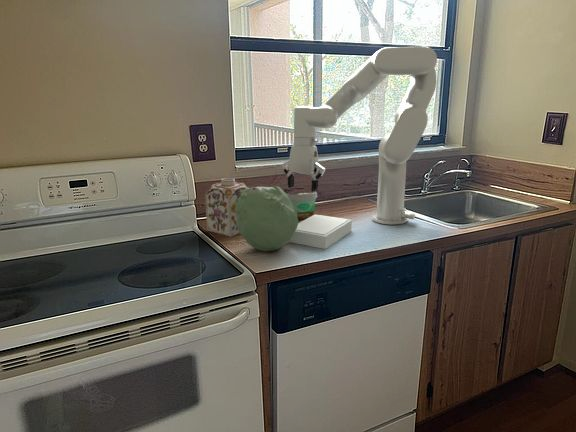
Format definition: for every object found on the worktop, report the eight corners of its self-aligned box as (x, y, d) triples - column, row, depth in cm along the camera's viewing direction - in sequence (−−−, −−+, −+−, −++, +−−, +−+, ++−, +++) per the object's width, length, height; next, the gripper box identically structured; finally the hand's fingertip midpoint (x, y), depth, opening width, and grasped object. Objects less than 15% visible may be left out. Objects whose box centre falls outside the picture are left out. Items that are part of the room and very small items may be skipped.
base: (351, 231, 154) (351, 219, 153) (325, 248, 138) (325, 235, 137) (314, 225, 161) (315, 213, 160) (286, 241, 145) (285, 228, 143)
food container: (292, 223, 164) (292, 196, 161) (285, 219, 169) (285, 192, 166) (322, 219, 168) (323, 193, 166) (315, 215, 174) (315, 189, 171)
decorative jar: (206, 231, 156) (203, 179, 151) (229, 223, 165) (227, 174, 160) (231, 237, 149) (228, 184, 144) (254, 228, 158) (253, 178, 153)
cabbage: (305, 254, 133) (305, 188, 127) (241, 262, 128) (239, 193, 122) (289, 238, 147) (289, 178, 142) (232, 244, 142) (229, 182, 137)
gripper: (330, 142, 160) (328, 190, 164) (288, 139, 168) (287, 184, 173) (320, 144, 153) (318, 194, 158) (277, 140, 162) (277, 187, 167)
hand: (302, 188), depth 166 cm, fingers open, 9 cm apart
